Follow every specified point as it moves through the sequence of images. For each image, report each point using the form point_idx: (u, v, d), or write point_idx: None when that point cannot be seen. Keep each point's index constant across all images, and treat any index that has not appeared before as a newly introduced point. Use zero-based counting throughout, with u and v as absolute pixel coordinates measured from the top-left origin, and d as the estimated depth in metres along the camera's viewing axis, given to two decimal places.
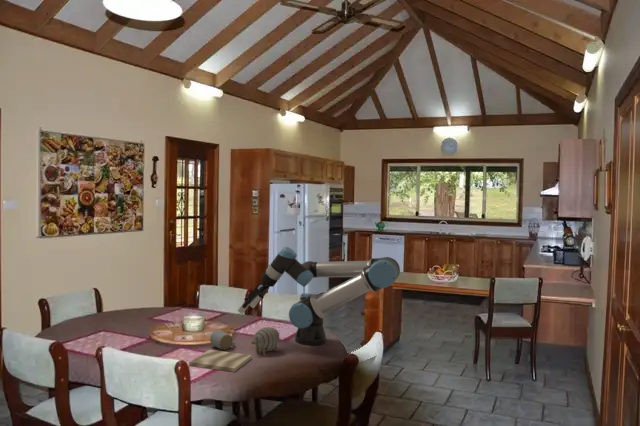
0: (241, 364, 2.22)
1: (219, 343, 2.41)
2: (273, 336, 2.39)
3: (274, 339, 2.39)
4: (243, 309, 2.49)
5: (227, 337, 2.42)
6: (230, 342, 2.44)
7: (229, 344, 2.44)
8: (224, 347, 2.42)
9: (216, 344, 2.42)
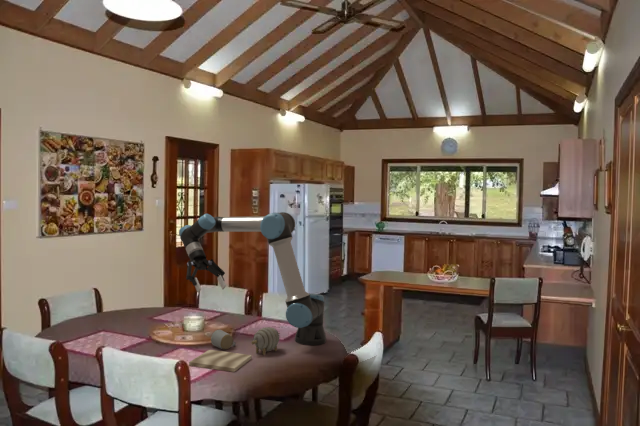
0: (241, 364, 2.22)
1: (220, 343, 2.41)
2: (273, 336, 2.39)
3: (274, 339, 2.39)
4: (197, 285, 2.49)
5: (228, 337, 2.43)
6: (231, 342, 2.44)
7: (230, 344, 2.44)
8: (225, 347, 2.42)
9: (217, 344, 2.42)
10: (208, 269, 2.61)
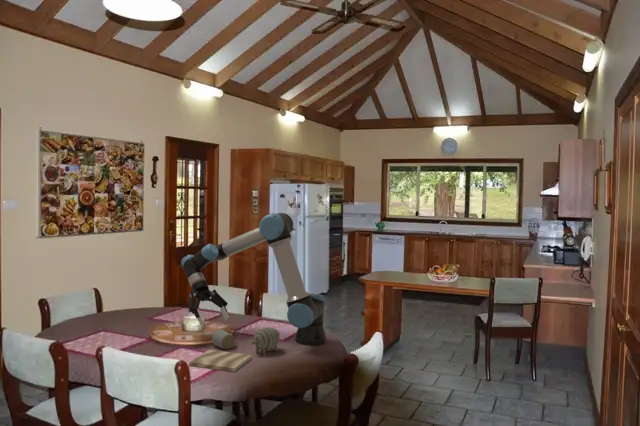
0: (241, 364, 2.22)
1: (221, 343, 2.41)
2: (273, 336, 2.39)
3: (274, 339, 2.39)
4: (200, 318, 2.46)
5: (229, 337, 2.43)
6: (232, 342, 2.45)
7: (231, 344, 2.44)
8: (226, 347, 2.42)
9: (218, 344, 2.43)
10: (211, 300, 2.58)
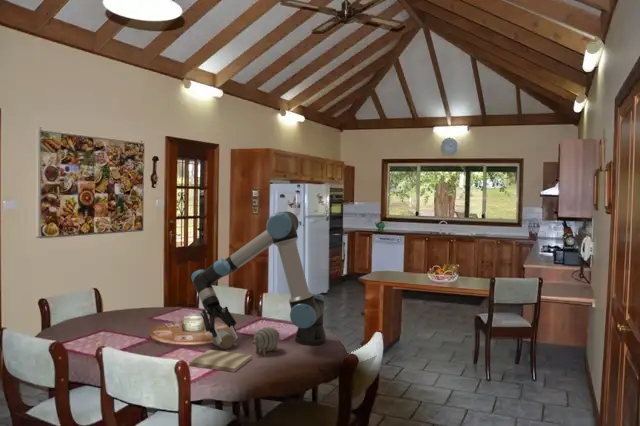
0: (241, 364, 2.22)
1: None
2: (273, 336, 2.39)
3: (274, 339, 2.39)
4: (217, 337, 2.41)
5: (228, 336, 2.43)
6: (231, 341, 2.45)
7: (230, 343, 2.44)
8: (225, 346, 2.42)
9: (217, 343, 2.43)
10: (220, 317, 2.52)
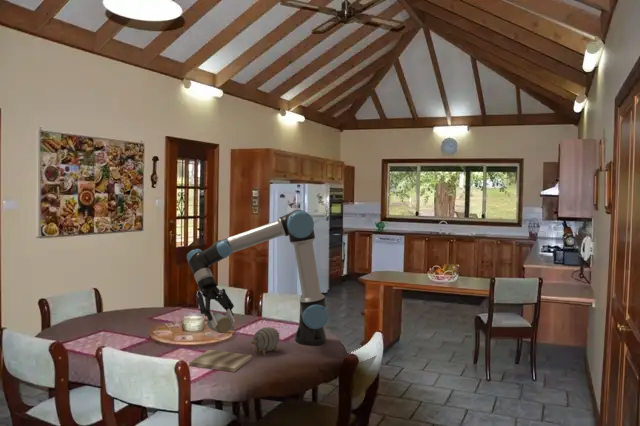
0: (241, 364, 2.22)
1: (216, 326, 2.24)
2: (273, 336, 2.39)
3: (274, 339, 2.39)
4: (213, 321, 2.24)
5: (225, 320, 2.25)
6: (228, 326, 2.27)
7: (227, 328, 2.27)
8: (221, 331, 2.25)
9: None
10: (217, 299, 2.34)
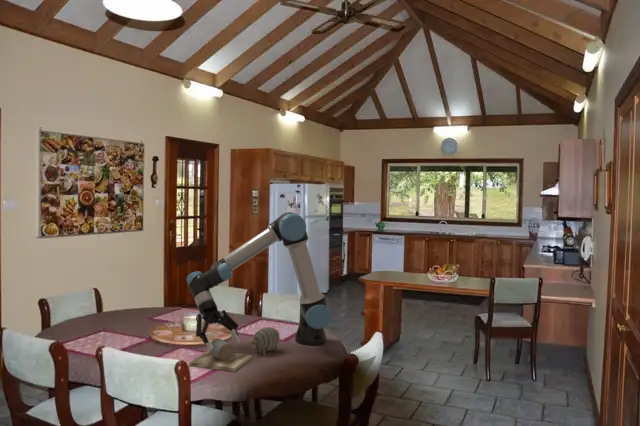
0: (241, 364, 2.22)
1: (218, 353, 2.21)
2: (273, 336, 2.39)
3: (274, 339, 2.39)
4: (208, 343, 2.20)
5: (226, 347, 2.23)
6: (230, 352, 2.24)
7: (229, 354, 2.24)
8: (223, 358, 2.22)
9: (215, 354, 2.23)
10: (220, 322, 2.32)
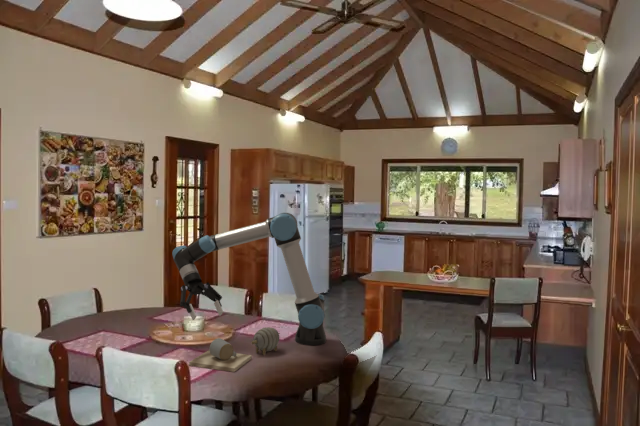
0: (241, 364, 2.22)
1: (218, 353, 2.21)
2: (273, 336, 2.39)
3: (274, 339, 2.39)
4: (192, 313, 2.29)
5: (227, 347, 2.23)
6: (231, 352, 2.24)
7: (230, 354, 2.24)
8: (224, 357, 2.22)
9: (215, 354, 2.23)
10: (204, 293, 2.41)
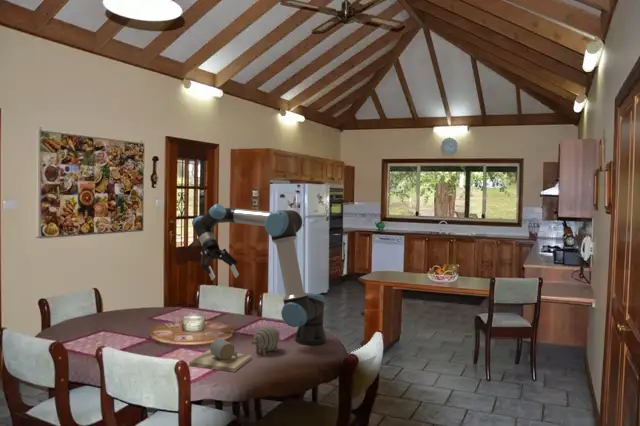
0: (241, 364, 2.22)
1: (219, 353, 2.22)
2: (273, 336, 2.39)
3: (274, 339, 2.39)
4: (211, 274, 2.55)
5: (228, 346, 2.23)
6: (231, 352, 2.25)
7: (230, 354, 2.24)
8: (225, 357, 2.23)
9: (216, 354, 2.23)
10: (221, 258, 2.67)
